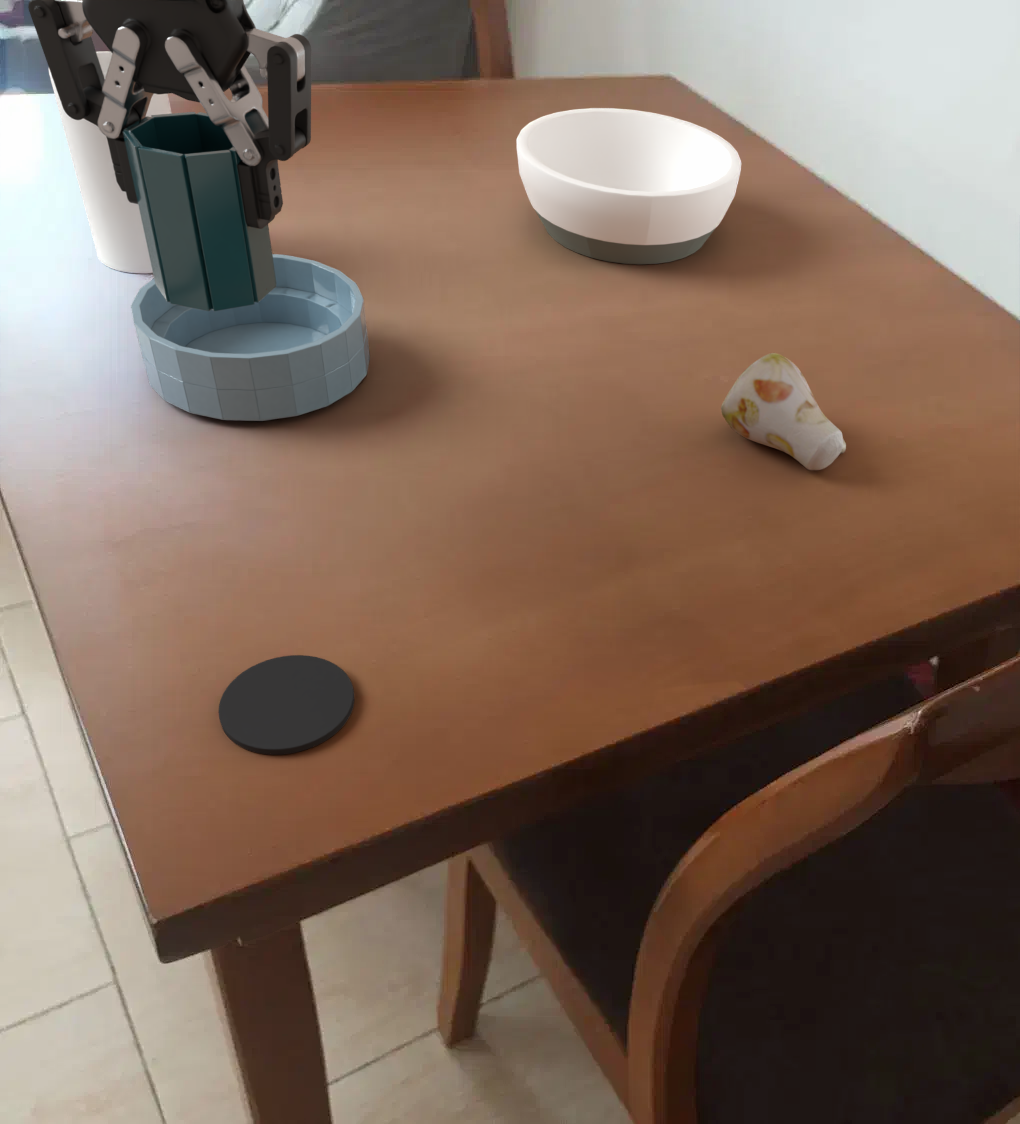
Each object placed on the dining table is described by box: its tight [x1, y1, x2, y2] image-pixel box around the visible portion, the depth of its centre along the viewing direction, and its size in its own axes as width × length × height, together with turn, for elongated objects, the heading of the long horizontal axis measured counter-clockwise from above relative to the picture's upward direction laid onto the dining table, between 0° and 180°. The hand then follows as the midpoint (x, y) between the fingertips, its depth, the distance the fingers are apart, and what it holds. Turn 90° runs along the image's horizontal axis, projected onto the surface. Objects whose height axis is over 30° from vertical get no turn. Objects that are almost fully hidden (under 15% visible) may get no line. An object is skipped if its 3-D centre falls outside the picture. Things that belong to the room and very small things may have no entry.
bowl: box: [515, 107, 742, 265], centre depth 115 cm, size 22×22×8 cm
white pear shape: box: [720, 352, 847, 471], centre depth 89 cm, size 8×10×10 cm
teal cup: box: [123, 111, 276, 311], centre depth 64 cm, size 6×6×9 cm
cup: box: [48, 51, 173, 274], centre depth 96 cm, size 8×8×16 cm
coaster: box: [218, 654, 355, 756], centre depth 64 cm, size 7×7×1 cm
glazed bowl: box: [130, 253, 371, 422], centre depth 87 cm, size 16×16×6 cm
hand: (204, 210), depth 64 cm, fingers closed on teal cup, 6 cm apart
